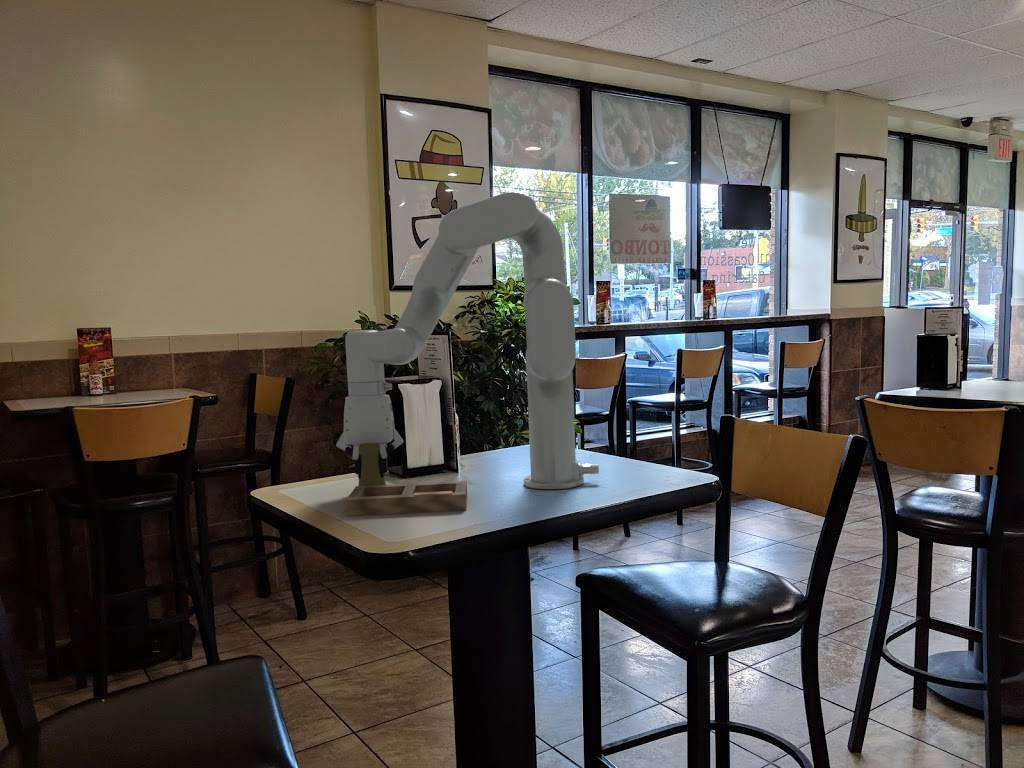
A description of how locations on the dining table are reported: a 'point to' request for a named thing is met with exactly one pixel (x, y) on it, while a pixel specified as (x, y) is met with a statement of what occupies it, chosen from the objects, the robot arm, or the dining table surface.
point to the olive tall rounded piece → (370, 465)
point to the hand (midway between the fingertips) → (371, 476)
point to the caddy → (407, 498)
